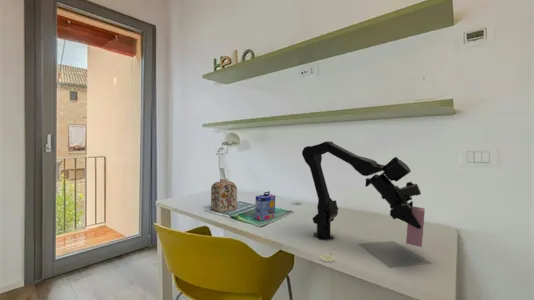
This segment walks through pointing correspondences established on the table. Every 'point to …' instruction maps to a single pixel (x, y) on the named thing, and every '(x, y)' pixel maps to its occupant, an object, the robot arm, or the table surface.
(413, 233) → the pink box
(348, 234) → the table surface
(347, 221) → the table surface
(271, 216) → the ink cartridge box
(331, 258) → the sign
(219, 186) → the decorative jar
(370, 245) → the mat
